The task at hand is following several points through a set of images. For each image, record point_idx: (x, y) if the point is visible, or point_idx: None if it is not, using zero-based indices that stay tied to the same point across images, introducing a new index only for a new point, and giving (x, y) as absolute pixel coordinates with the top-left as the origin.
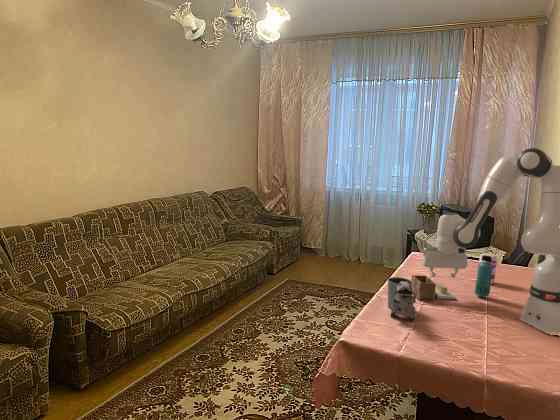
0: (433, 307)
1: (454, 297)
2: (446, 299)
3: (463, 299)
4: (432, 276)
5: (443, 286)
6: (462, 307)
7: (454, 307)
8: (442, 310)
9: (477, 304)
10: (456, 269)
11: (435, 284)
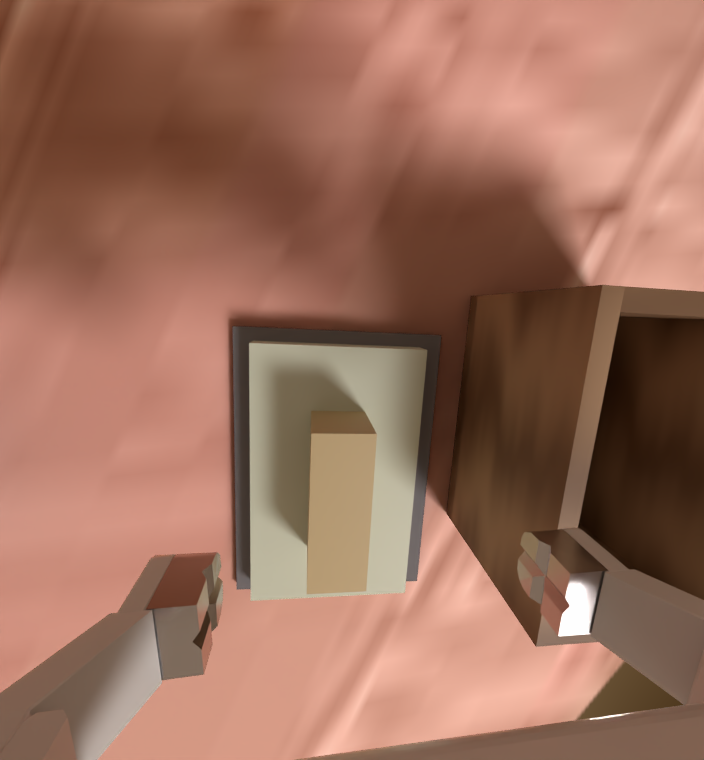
0: (554, 126)
1: (257, 341)
2: (341, 331)
3: (154, 362)
4: (576, 529)
5: (340, 474)
6: (263, 129)
7: (349, 128)
8: (508, 41)
9: (50, 225)
10: (13, 757)
11: (600, 286)
